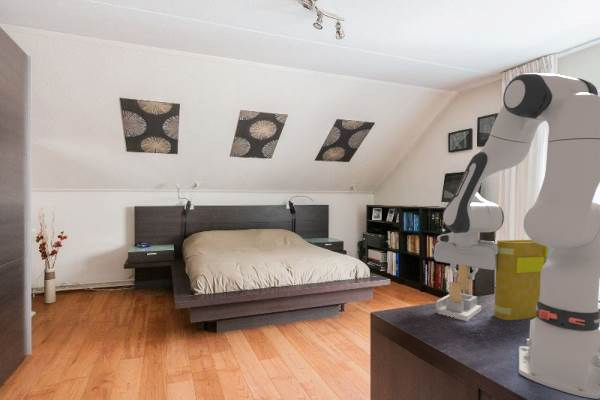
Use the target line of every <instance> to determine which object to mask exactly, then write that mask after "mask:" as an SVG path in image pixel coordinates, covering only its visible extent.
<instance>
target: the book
mask: <svg viewBox="0 0 600 400" xmlns="http://www.w3.org/2000/svg"><path fill="white" fill-rule="evenodd" d="M496 244H497V245H498V254H497V268H495V282H494V283H495V286H494V290H495V291H494V309H493V310H494V311H493V316H494V317H495V318H497V319H500V320H505V321H516V320H517V321H518V320H523V319H531V318H532V319H534V318H536V317H537V316H536V305H537V301H538V300H539V297H540V274H541V269H542V266H543V265H544V264H545V263H546V261H547V257H549V247H546V246H543V245H540V244H537V243H535V242H534V241H532V240H531V239H530V238H529V239H528V238H527V239H502V240H501V239H500V240H499V239H498V240H497V241H496Z"/></svg>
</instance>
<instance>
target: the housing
mask: <svg viewBox="0 0 600 400" xmlns="http://www.w3.org/2000/svg"><path fill="white" fill-rule="evenodd" d="M481 311H482V305H478V296H475V295H471V294H466V293H463V292H462V283H459V282H458V281H450V282H449V293H448V294H447V295H445V296H443V297H440V298H439V299H437V300H436V301H435V314H437V313H438V315H441V314H442V315H443V316H445V315H446V317H449V316H450V317H451V318H453V317H454V318H453V319H457V320H460V321H461V320H462V321H464V322H468V321H469V320H470V319H472V318H473V317H474V316H476V315H477V314H479V313H480V312H481ZM442 315H441V316H442ZM450 317H449V318H450Z"/></svg>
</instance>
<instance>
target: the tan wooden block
mask: <svg viewBox="0 0 600 400" xmlns="http://www.w3.org/2000/svg"><path fill="white" fill-rule="evenodd" d="M457 265H458V264H457ZM457 268H458V270H457V271H458V277H457V282H459V283H462V290H465V291H469V289H470V279H468V274H471V272H470V271H471V267H470V266H465V265H463V264H462V265H458V267H457Z"/></svg>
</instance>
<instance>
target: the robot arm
mask: <svg viewBox="0 0 600 400" xmlns="http://www.w3.org/2000/svg"><path fill="white" fill-rule="evenodd" d="M502 98H503V99H502V100H503V101H502V102H503V105H502V107H501V108H500V110H499V112H498V114H497V116H496V118H495V119H494V123H493V125H492V128H491V131H490V132H489V133H490V134H489V136H488V139H487V140H486V142H485V144H484V145H483V147H482V148H481V150H480V151H479V152H477V153H476V154H474V155H473V156H472V158H471V159H470V160H469V163H468V164H467V166H466V168H465V170H464V173H463V174H462V177H461V179H460V181H459V183H458V185H457V187H456V189H455V192H454V194H453V196H452V197H451V199H450V201H449V202H448V203H447V205H446V207H445V208H444V210H443V212H442V213H443V214H442V220H443V221H442V222H443V223H444V225H445V226H446V228H447V229H448V230H449V231H451V232H447V233H444V234H443V233H442V234H440V235H438V236H437V237H436V240H437V242H436V243H435V245H434V250H433V258H434V260H435V262H440V263H446V264H449V265H450V269H451V270H452V272H453V273H452V275H453V277H455V278H458V270H457V268H456V267H457V265H462V264H463V265H465V266H470V268H471V270H472V272H471V273H470V274H468V279H469V281H474V280H475V275H476V273H477V272H478V271H479V269H483V270H493V271H494V270H496V268H497V254H498V245H497V242H496V243H495V242H494V241H491V240H490V241H489V240H484V239H483V240H482V239H480V235H481V234H480V233H492V232H497V231H499V230H500V229H501V228H502V227H503V225H504V222H505V221H504V220H505V214H504V211H503V209H502V207H501V206H500V205H499V204H497V203H494V202H491V201H489V200H487V199H485V198H483V197H482V196H481V194H480V193H479V192H478V191H479V189H480V187H481V185H482V183H483V181H485V180H486V179H488V177H490V176H492V175H494V174H497V173H499V172H501V171H505V170H509V169H513V168H514V167H517V166H518V165H519V164H521V163H522V162H523V161H524V160H525V159H526V157H527V156H528V154H529V152H530V150H531V147H532V144H533V140H534V138H535V134H536V132H537V130H538V128H539V126H540V125H541V124H542V123H544V122H547V124H548V125H547V126H548V135H547V151H546V162H545V164H546V165H545V173H544V178H543V181H542V185H541V187H540V190H539V192H538V195H537V198H536V201H535V203H534V204H533V205H532V207H531V208H530V209H528V211H527V212H526V214H525V216H524V218H523V228H524V229H523V230H524V232H525V234H526V235H527V236H528V238H529V239H530V240H532V241H534V242H535V243H537V244H540V245H543V246H546V247H548V248H551V250H550V253H549V254H548V258H546V263H545V264H544V265H543V266H542V269H541V274H540V297H539V300H538V301H537V305H536V316H537V317H534V318H532V319H530V321H529V337H528V338H526V339H525V344H526V345H528V346H525V345H520V346H519V347H518V374H520V375H521V376H523V377H525V378H527V379H529V380H531V381H533V382H535V383H538V384H541V385H544V386H545V387H549V388H551V389H555V390H558V391H560V392H564V393H567V394H571V395H574V396H575V395H576V396H577V397H584V398H589V399H595V400H596V399H597V400H598V399H600V310H599V294H600V293H599V292H600V204H599V203H596V202H594V201H593V200H594V198H595V195H596V192H597V189H598V187H599V184H600V96H599V93H598V89H597V86H595V85H594V84H593V83H592V82H590V81H588V80H586V79H583V78H575V77H574V78H573V77H570V76H565V75H560V74H555V73H552V74H551V73H537V72H536V73H535V72H529V73H522V74H519V75H517V76H515V77H514V78H512V79H511V80H510V81H509V82H508V83H507V85H506V88H505V89H504V92H503V97H502Z"/></svg>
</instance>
